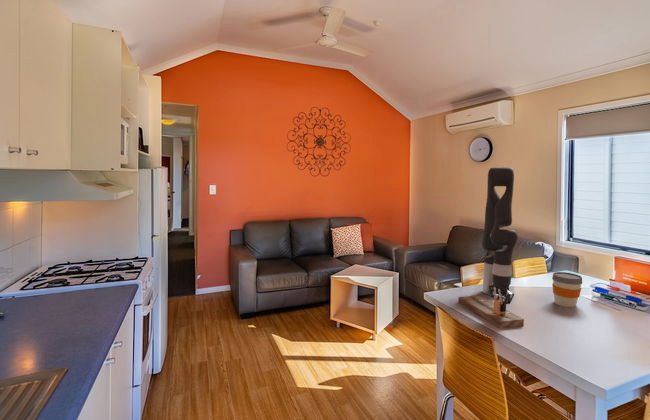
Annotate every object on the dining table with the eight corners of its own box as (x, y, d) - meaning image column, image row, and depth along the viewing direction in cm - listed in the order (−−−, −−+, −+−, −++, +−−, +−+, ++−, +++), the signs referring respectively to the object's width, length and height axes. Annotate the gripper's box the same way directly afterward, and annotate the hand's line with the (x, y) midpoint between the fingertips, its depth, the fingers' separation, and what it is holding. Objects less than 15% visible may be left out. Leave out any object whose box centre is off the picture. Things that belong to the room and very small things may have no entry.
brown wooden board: (478, 300, 177) (478, 295, 177) (523, 325, 148) (523, 318, 147) (458, 302, 174) (458, 296, 174) (499, 328, 145) (500, 321, 145)
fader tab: (501, 311, 155) (501, 298, 155) (505, 313, 153) (506, 300, 152) (493, 311, 155) (494, 299, 154) (498, 314, 152) (498, 301, 151)
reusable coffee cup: (548, 304, 173) (550, 275, 171) (552, 297, 182) (554, 270, 180) (578, 310, 164) (581, 280, 163) (581, 303, 173) (584, 275, 172)
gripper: (521, 277, 146) (518, 315, 147) (497, 268, 159) (495, 303, 161) (506, 278, 144) (503, 317, 146) (484, 269, 158) (482, 305, 160)
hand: (499, 309), depth 153 cm, fingers closed on fader tab, 3 cm apart
